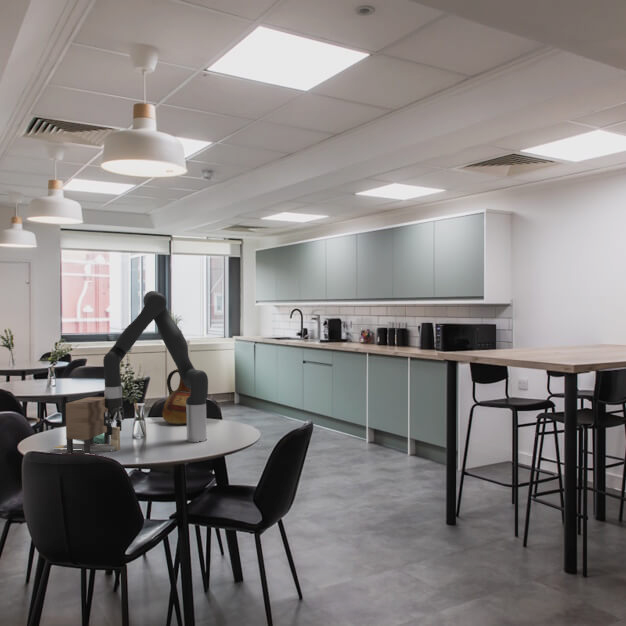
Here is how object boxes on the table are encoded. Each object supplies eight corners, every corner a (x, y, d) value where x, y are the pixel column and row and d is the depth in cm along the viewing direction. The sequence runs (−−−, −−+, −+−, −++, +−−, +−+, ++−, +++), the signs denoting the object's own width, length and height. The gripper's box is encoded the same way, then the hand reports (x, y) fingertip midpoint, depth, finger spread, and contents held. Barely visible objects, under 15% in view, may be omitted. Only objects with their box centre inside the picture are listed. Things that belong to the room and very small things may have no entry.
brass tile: (59, 448, 282) (59, 445, 282) (69, 448, 282) (69, 445, 282) (53, 451, 277) (53, 447, 277) (63, 451, 277) (63, 447, 277)
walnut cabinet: (90, 444, 288) (89, 396, 288) (110, 444, 287) (109, 397, 286) (66, 454, 268) (65, 403, 268) (88, 454, 267) (87, 403, 267)
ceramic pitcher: (194, 426, 329) (193, 370, 329) (157, 426, 331) (156, 370, 331) (203, 420, 349) (203, 366, 349) (168, 420, 350) (167, 367, 350)
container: (109, 431, 288) (83, 424, 305) (98, 438, 284) (72, 430, 301) (113, 442, 290) (87, 434, 307) (102, 449, 286) (77, 440, 303)
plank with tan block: (69, 447, 282) (69, 425, 281) (121, 448, 278) (120, 426, 278) (63, 450, 277) (63, 427, 277) (116, 451, 273) (115, 428, 273)
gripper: (113, 399, 268) (114, 436, 268) (128, 394, 282) (129, 429, 282) (97, 399, 269) (98, 436, 270) (113, 394, 283) (114, 429, 284)
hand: (114, 432), depth 276 cm, fingers open, 8 cm apart
